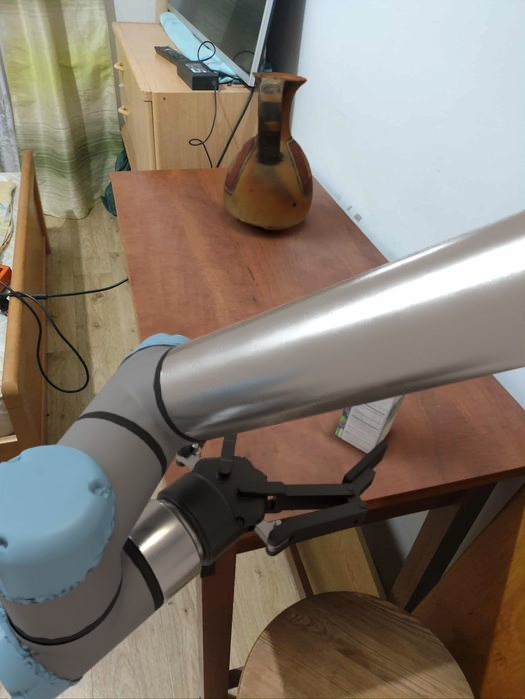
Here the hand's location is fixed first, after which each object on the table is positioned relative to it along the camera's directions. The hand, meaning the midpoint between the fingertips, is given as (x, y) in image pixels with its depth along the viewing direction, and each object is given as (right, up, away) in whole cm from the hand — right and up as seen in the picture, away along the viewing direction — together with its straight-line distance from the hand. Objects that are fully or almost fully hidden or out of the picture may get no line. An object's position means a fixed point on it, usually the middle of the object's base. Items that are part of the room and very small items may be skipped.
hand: (331, 412), depth 56 cm
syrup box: (+6, -5, +14) cm, 16 cm away
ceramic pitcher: (-7, +37, +60) cm, 71 cm away
